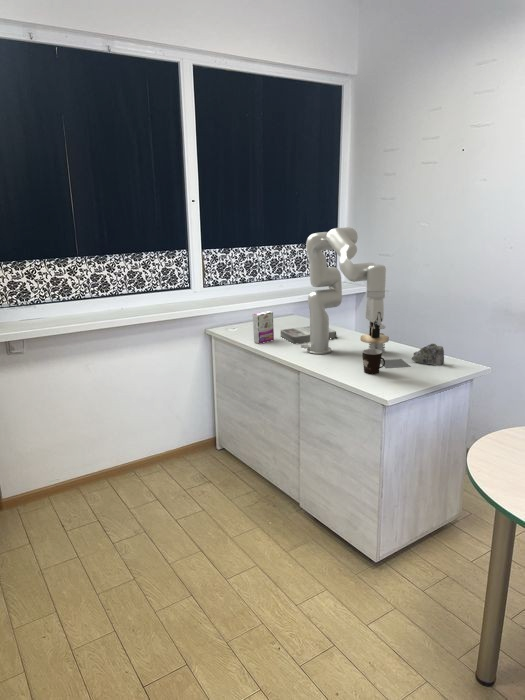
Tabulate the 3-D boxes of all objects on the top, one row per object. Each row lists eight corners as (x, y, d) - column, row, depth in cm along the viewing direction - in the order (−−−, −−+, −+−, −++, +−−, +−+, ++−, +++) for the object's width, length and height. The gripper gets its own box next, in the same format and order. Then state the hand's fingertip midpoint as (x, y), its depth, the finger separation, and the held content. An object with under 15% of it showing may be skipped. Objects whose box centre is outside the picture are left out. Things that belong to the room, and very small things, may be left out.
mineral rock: (410, 363, 237) (411, 342, 234) (423, 358, 243) (425, 338, 240) (434, 369, 227) (435, 348, 224) (447, 364, 233) (449, 343, 230)
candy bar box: (268, 338, 286) (267, 310, 282) (274, 340, 283) (273, 311, 278) (253, 342, 279) (252, 313, 275) (259, 344, 276) (258, 315, 271)
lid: (365, 344, 211) (365, 331, 210) (356, 337, 223) (357, 324, 221) (392, 342, 212) (393, 329, 211) (383, 335, 224) (383, 323, 222)
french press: (386, 350, 257) (388, 302, 250) (385, 357, 246) (388, 307, 239) (367, 350, 259) (368, 302, 253) (365, 356, 249) (367, 306, 242)
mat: (385, 369, 228) (385, 368, 228) (377, 361, 240) (377, 360, 240) (411, 367, 230) (411, 366, 229) (401, 360, 241) (401, 358, 241)
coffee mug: (359, 370, 228) (359, 349, 225) (377, 369, 228) (378, 348, 226) (366, 379, 216) (367, 356, 214) (386, 378, 217) (387, 355, 214)
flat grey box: (336, 339, 284) (337, 331, 282) (293, 344, 274) (293, 337, 273) (321, 332, 300) (321, 324, 299) (280, 337, 291) (279, 329, 290)
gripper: (361, 291, 219) (360, 332, 224) (373, 298, 204) (371, 342, 209) (378, 291, 220) (376, 331, 225) (391, 297, 205) (389, 340, 210)
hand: (374, 336), depth 217 cm, fingers closed on lid, 2 cm apart
